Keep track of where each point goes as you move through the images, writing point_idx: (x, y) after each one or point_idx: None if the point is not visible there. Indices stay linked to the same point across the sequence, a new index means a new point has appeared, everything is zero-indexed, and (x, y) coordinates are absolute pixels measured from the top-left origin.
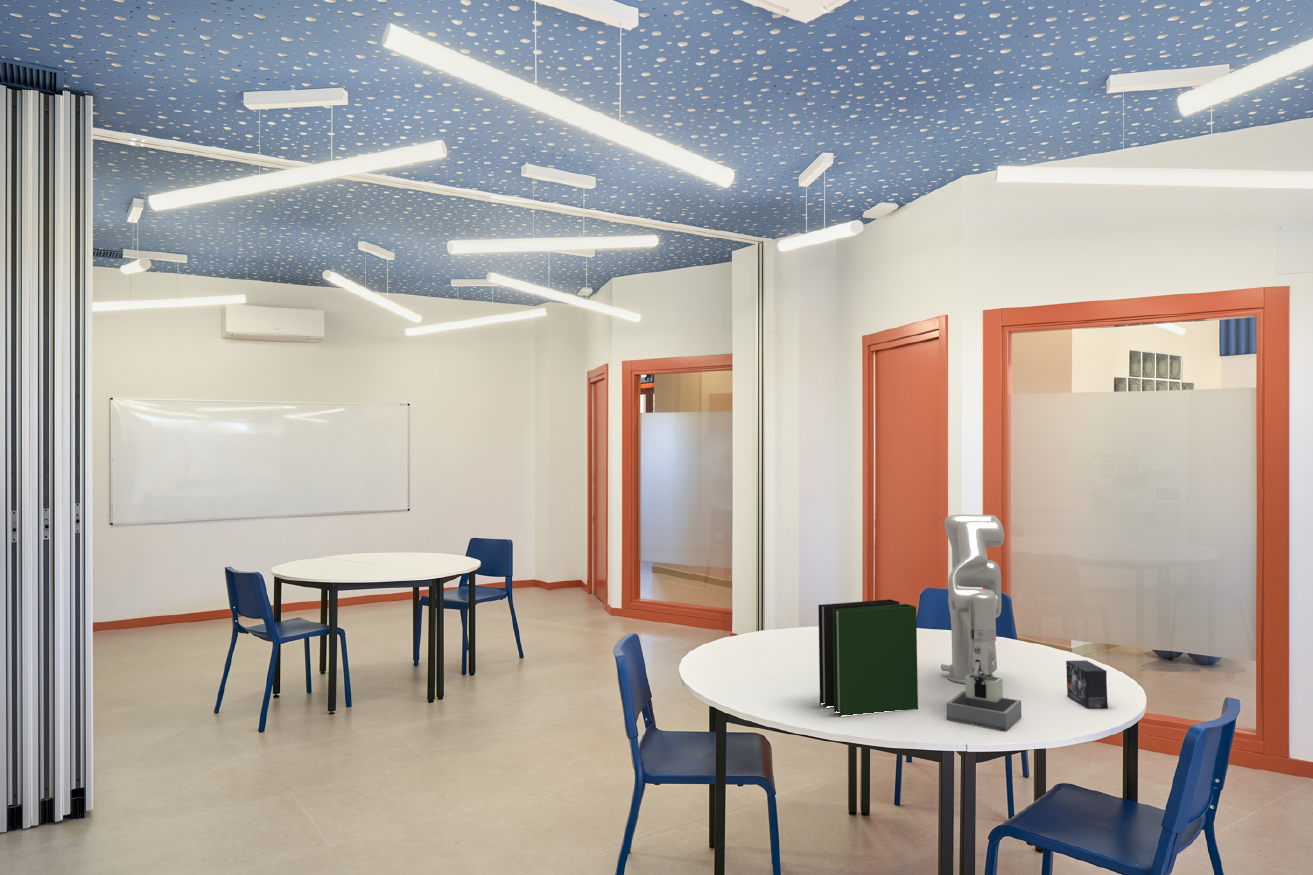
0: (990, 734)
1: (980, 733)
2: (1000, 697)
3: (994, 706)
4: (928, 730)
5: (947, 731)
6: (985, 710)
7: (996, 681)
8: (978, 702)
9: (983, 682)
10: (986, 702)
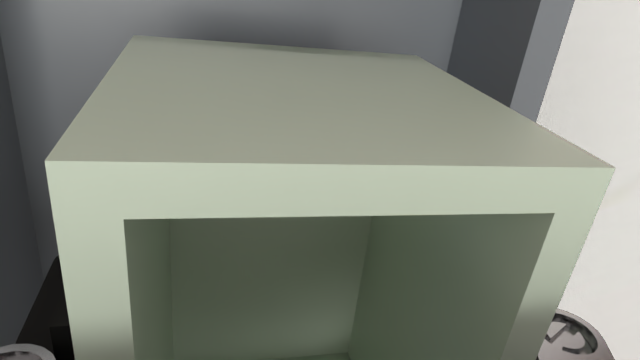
0: (599, 8)
1: (594, 73)
2: (244, 49)
3: (4, 128)
4: (609, 304)
5: (603, 235)
6: (533, 116)
7: (568, 174)
8: (23, 272)
9: (599, 340)
10: (5, 214)
